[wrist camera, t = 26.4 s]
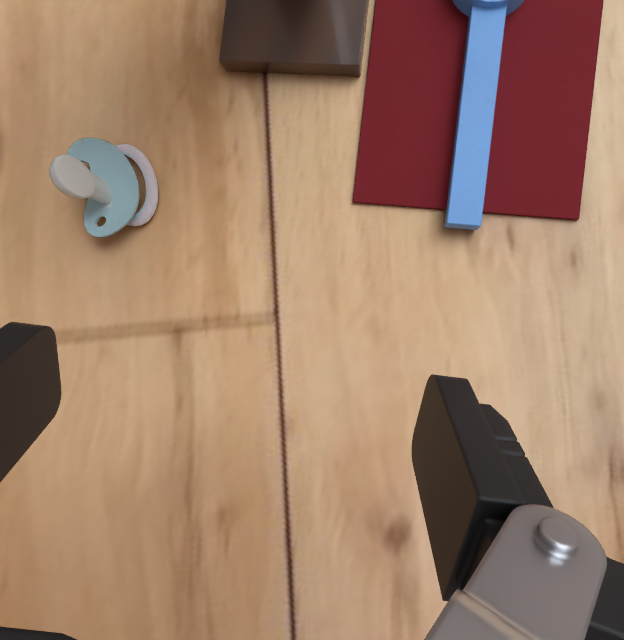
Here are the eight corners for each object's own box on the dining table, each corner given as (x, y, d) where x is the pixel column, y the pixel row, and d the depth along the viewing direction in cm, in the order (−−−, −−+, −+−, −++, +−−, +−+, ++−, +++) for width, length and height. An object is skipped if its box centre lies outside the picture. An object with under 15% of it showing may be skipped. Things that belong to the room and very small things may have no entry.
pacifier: (145, 133, 38) (74, 160, 39) (101, 93, 32) (17, 126, 32) (173, 223, 38) (101, 249, 38) (134, 200, 31) (49, 232, 32)
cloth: (353, 202, 36) (352, 201, 35) (386, -91, 36) (386, -94, 35) (577, 220, 33) (578, 219, 33) (612, -93, 33) (614, -96, 33)
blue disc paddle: (420, 225, 35) (422, 219, 33) (453, -58, 35) (457, -82, 33) (501, 232, 34) (508, 226, 32) (535, -58, 34) (544, -82, 32)
